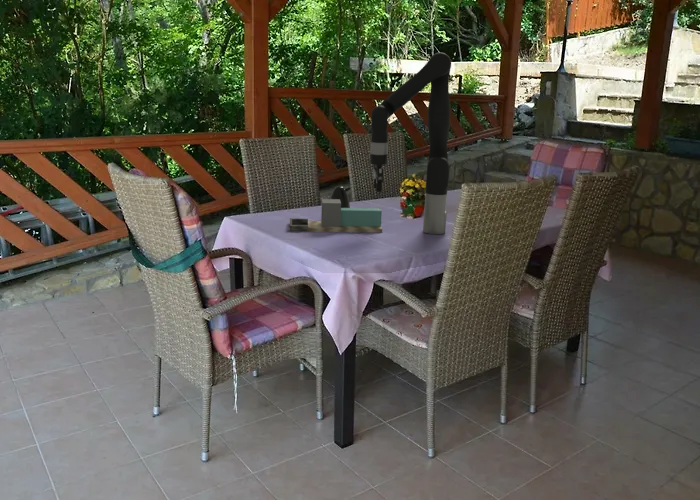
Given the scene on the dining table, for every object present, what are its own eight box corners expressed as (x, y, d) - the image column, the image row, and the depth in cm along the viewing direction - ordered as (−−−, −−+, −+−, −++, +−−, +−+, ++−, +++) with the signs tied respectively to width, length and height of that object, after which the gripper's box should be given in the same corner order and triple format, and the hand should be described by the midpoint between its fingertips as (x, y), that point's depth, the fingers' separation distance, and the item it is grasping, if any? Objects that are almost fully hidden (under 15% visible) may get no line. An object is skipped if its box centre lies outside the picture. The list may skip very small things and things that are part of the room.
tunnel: (339, 222, 282) (339, 199, 279) (340, 227, 274) (341, 203, 271) (321, 222, 282) (321, 199, 279) (322, 226, 274) (322, 203, 271)
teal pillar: (379, 223, 282) (380, 208, 280) (380, 226, 277) (381, 210, 275) (339, 223, 281) (339, 207, 279) (340, 225, 276) (340, 210, 274)
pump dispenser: (353, 219, 295) (354, 187, 291) (332, 220, 291) (333, 188, 287) (345, 214, 304) (346, 183, 300) (325, 216, 301) (325, 184, 296)
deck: (378, 224, 287) (378, 219, 286) (382, 232, 274) (382, 227, 273) (289, 223, 283) (289, 218, 283) (289, 231, 270) (289, 225, 269)
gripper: (390, 155, 265) (388, 193, 270) (385, 150, 279) (383, 187, 283) (372, 154, 265) (370, 193, 269) (368, 150, 278) (367, 187, 283)
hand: (377, 190), depth 276 cm, fingers open, 8 cm apart
